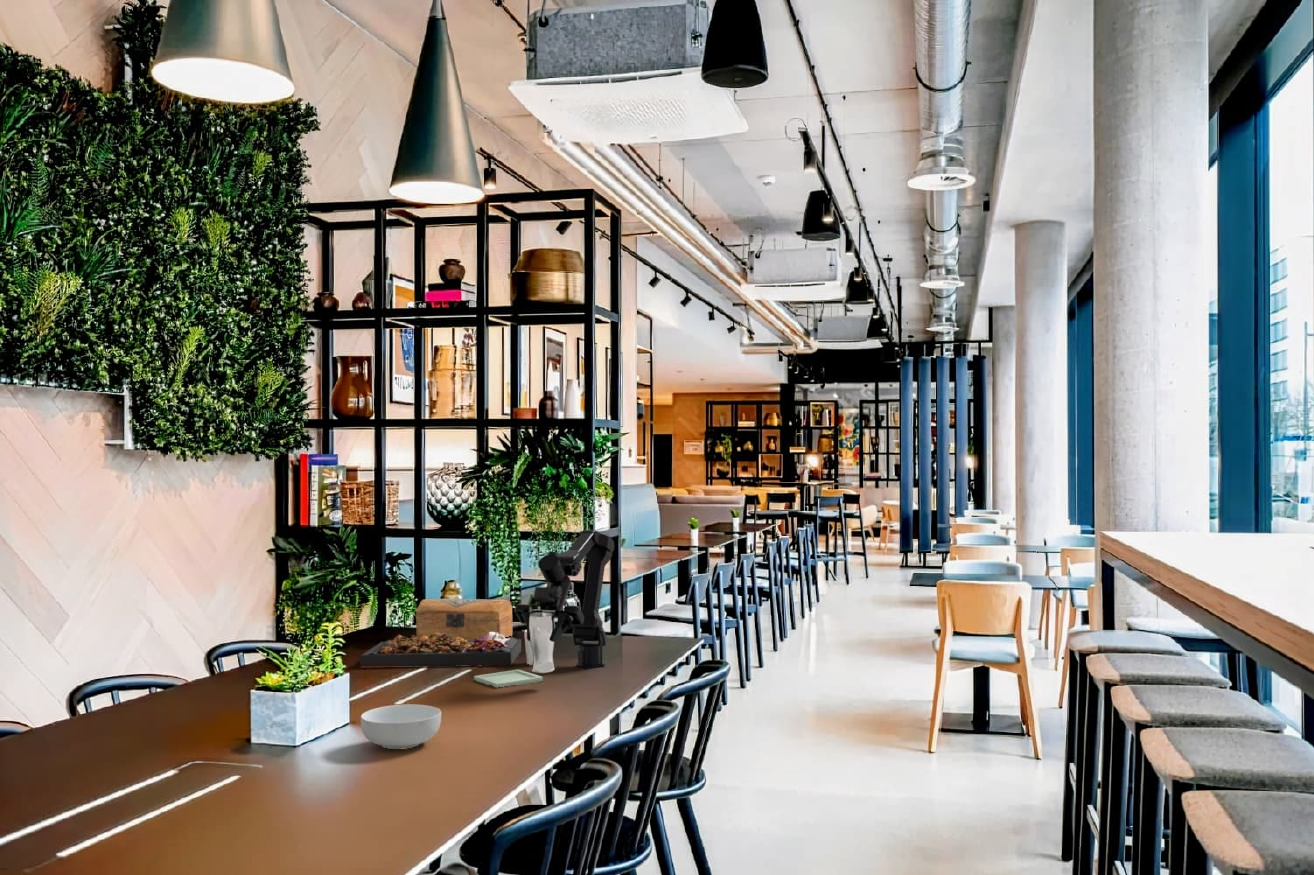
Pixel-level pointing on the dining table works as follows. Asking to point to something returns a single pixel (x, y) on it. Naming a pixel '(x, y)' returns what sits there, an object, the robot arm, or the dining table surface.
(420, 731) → the cereal bowl
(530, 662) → the white cup
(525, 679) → the tray
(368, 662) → the food platter
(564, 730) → the dining table surface
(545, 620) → the beer glass
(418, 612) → the wooden box
